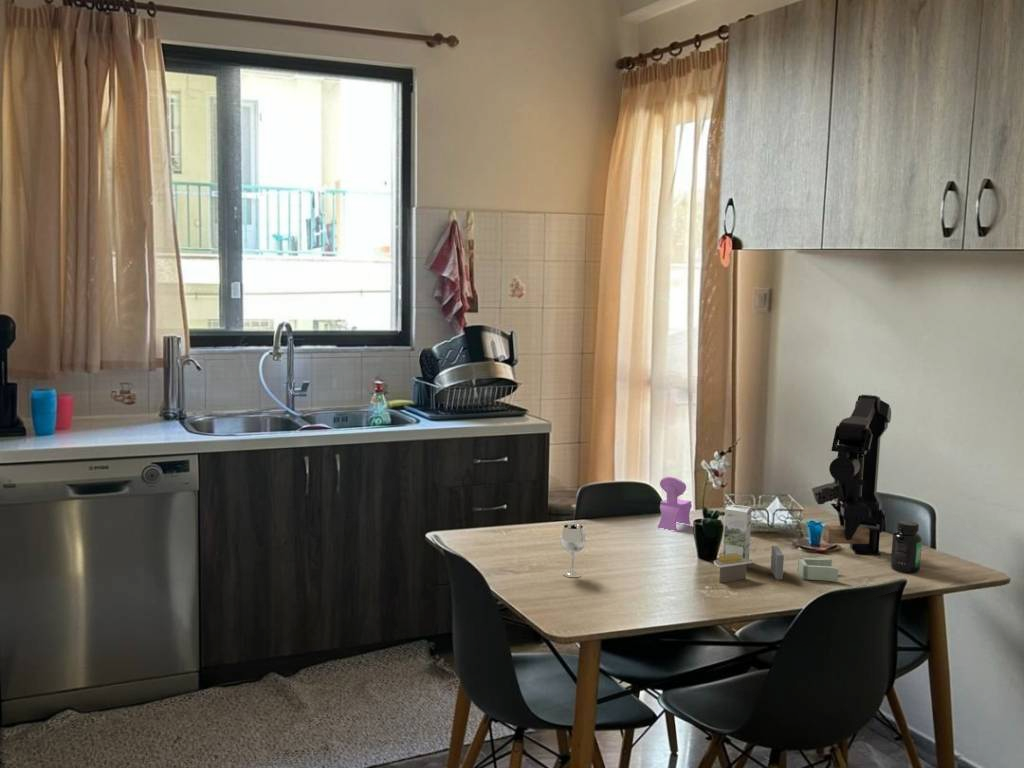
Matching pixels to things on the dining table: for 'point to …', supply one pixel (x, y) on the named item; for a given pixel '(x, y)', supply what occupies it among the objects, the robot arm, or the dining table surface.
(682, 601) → the dining table surface
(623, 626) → the dining table surface
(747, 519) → the syrup box
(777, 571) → the wall
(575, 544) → the wineglass
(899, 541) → the supplement bottle
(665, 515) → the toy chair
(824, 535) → the brown rectangular block
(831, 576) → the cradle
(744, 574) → the platform
